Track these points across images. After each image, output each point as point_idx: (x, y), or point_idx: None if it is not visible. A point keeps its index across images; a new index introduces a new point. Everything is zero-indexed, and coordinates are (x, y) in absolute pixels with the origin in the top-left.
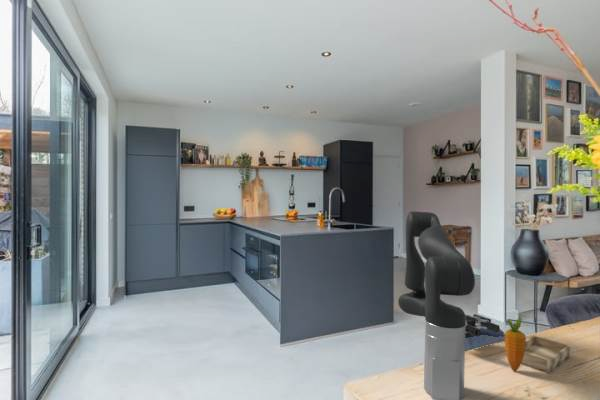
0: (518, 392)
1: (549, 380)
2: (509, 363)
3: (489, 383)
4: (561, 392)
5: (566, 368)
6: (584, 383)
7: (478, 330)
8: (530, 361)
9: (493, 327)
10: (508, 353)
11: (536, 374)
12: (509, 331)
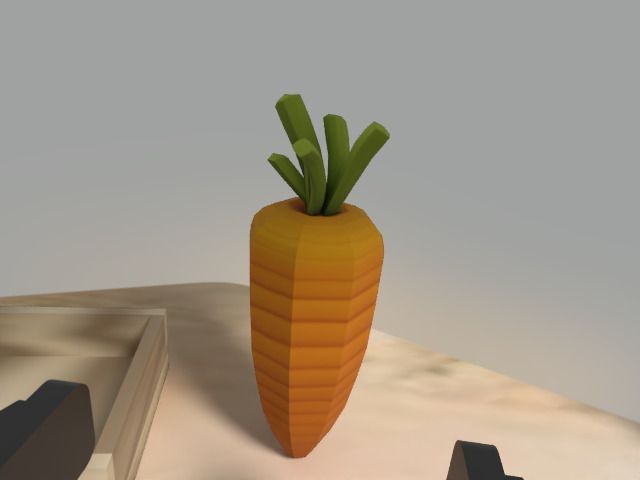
0: (488, 378)
1: (247, 352)
2: (323, 434)
3: (580, 469)
4: None
5: None
6: (161, 298)
7: (489, 447)
8: (147, 398)
9: (49, 464)
10: (356, 369)
11: (227, 390)
12: (357, 223)
